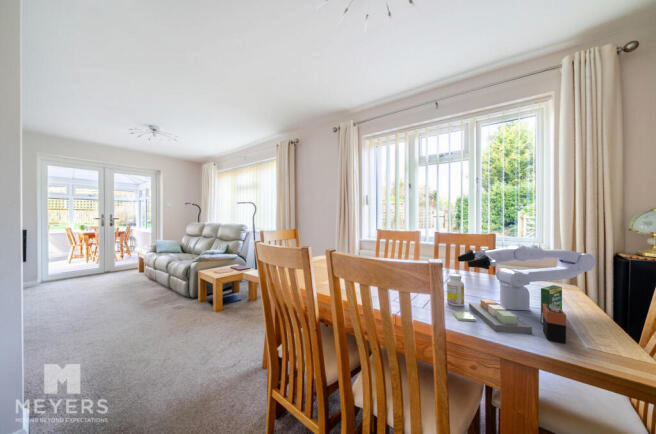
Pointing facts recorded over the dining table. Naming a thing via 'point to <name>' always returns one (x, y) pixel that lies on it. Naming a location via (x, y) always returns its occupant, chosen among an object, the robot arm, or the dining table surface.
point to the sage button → (506, 317)
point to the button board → (496, 324)
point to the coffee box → (551, 297)
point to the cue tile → (464, 316)
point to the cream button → (495, 309)
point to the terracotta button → (487, 303)
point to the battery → (554, 323)
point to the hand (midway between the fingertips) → (463, 261)
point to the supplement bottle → (455, 290)
